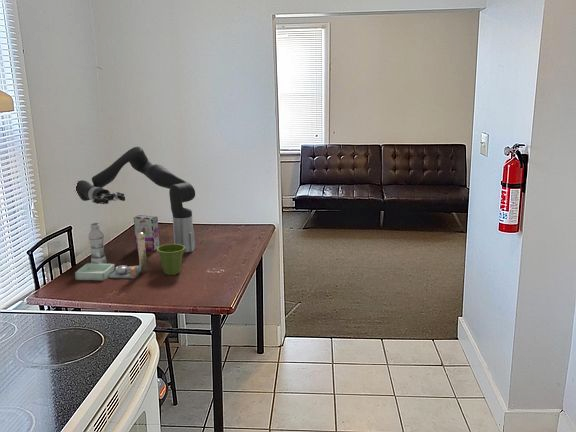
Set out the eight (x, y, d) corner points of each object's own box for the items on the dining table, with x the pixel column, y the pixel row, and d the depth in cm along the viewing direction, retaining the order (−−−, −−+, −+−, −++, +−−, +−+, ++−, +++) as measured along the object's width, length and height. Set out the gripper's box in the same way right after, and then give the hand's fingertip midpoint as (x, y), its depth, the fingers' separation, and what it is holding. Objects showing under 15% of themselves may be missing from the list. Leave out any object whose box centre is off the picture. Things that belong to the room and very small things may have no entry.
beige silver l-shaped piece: (115, 274, 232) (112, 236, 227) (115, 270, 236) (112, 233, 232) (147, 271, 235) (145, 233, 231) (147, 267, 240) (144, 230, 236)
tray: (115, 270, 240) (114, 263, 239) (104, 280, 229) (103, 273, 228) (87, 270, 241) (86, 263, 240) (75, 279, 230) (74, 272, 229)
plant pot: (162, 279, 229) (160, 253, 227) (155, 270, 240) (153, 246, 237) (189, 274, 235) (188, 249, 232) (181, 266, 245) (180, 242, 242)
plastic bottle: (110, 265, 246) (106, 223, 241) (99, 270, 241) (94, 226, 236) (99, 263, 249) (95, 221, 244) (88, 268, 243) (83, 225, 238)
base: (141, 271, 238) (140, 269, 238) (134, 278, 231) (134, 276, 230) (116, 271, 239) (116, 269, 239) (109, 277, 231) (109, 275, 231)
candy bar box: (160, 248, 271) (158, 216, 267) (154, 251, 267) (152, 218, 262) (141, 245, 275) (139, 214, 271) (135, 248, 271) (132, 216, 267)
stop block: (135, 274, 235) (134, 266, 234) (135, 276, 233) (134, 269, 232) (131, 274, 235) (130, 267, 234) (131, 277, 232) (130, 269, 231)
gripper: (113, 200, 271) (130, 205, 260) (86, 205, 261) (102, 210, 250) (112, 185, 269) (129, 190, 258) (84, 189, 259) (100, 194, 248)
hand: (115, 200), depth 254 cm, fingers open, 8 cm apart
